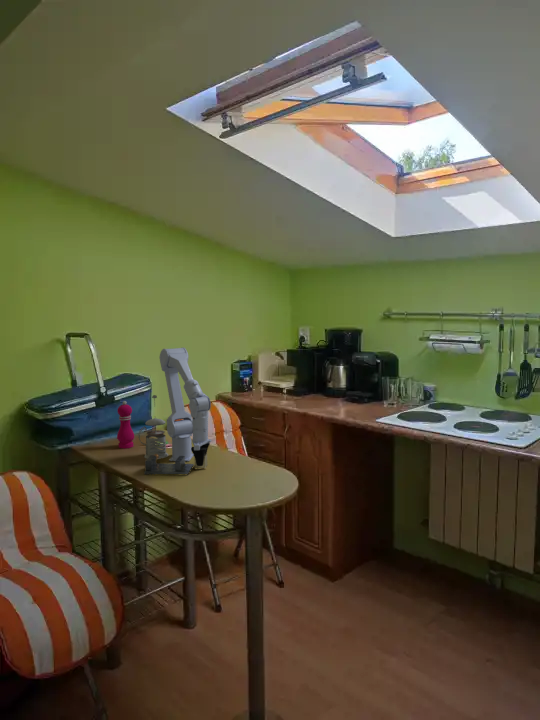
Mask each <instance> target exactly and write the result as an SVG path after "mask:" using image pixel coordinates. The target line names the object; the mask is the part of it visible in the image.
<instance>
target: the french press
mask: <svg viewBox="0 0 540 720" xmlns="http://www.w3.org/2000/svg"><path fill="white" fill-rule="evenodd" d="M151 398H152V399H153V400H154V403H153V404H154V406H156V399H158V397H157V394H153V395H152V397H151ZM145 425H146V426H152V427H154V429H153V430H149V431H147V427H146V426H143V427H141V429H139V432H138V433H137V434H138V439H139V442H140V444H141V445H144V446H145V455H144V456H143V457H144V459H146V460H147V459H148V458H149V457H150V456H151V455H155V454H158V455H159V458H158V459H157V460H160V459H161V458H162V459H165V458H167V457H169V454H168V452H167V448H166V445H167V443H166V435H165V431H164V430H161V429H160V430H159V429H158V430H157V428H156V427H157V426H158V427H159V426H162V425H166V421H165V420H163V419H162V418H161V419H160V418H156V417H154V418H151V419H148V420H146V422H145ZM144 429H145V431H146V437H145V443H144V442H142V441H141V439H140V438H141V433H142V431H143V430H144ZM162 459H161V460H162Z"/></svg>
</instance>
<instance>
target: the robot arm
mask: <svg viewBox="0 0 540 720" xmlns="http://www.w3.org/2000/svg"><path fill="white" fill-rule="evenodd" d="M159 364H160V368H161V371H162V372H164V376H165V381H166V387H167V392H168V398H169V403H170V409H171V414H170V415H169V416H168V417H167V419H166V432H167V435H168V436H169V437H170V438H171V450H172V452H171V453H172V454H171V455H172V456H171V458H169V461H170V462H175V461H176V460H177V458H178V457H179V456H185V462H190V461H191V459H192V458H193V457H194V461H195V460H196V464H197V466H203V462H204V455H205V453H207V454H208V449H209V447H210V444H211V442H212V439H209V418H208V417H209V415H208V414H209V413H208V411H210V410H211V407H212V405H211V404H212V403H211V400H210V397H209V396H208V395H206V393H204V392H203V390H202V388H201V386H200V383H199V381H198V380H196V379H194V377H193V375H192V371H191V368H190V366H189V353H188V350H187V349H186V347H175V348H162V349H161V351H160V353H159ZM179 375H180V377H181V379H182V380H183V382H184V384H183V389H184V391H185V394H186V396H187V398H188V400H189V401H188V402H189V404H188V407H189V410H190V411H189V412H190V413H189V412H187V411H186V409H185V408H186V407H185V405H184V403H185V402H184V398H183V394H182V393H183V392H182V389H181V388H182V387H181V382H180V379H179V378H180V377H179ZM192 444H193V446H192Z"/></svg>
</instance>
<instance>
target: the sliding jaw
mask: <svg viewBox="0 0 540 720" xmlns="http://www.w3.org/2000/svg"><path fill="white" fill-rule="evenodd" d="M158 458H159V455H158V454H155V455H151V456H150V457H149V458H148V459H147V458H146V459H145V460H144V461H145V462H144V465H145V466H144V467H145V468H144V469H145V470H152V468H153V467H154V466H155V465H156V463H157V460H159V459H158Z"/></svg>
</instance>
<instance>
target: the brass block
mask: <svg viewBox="0 0 540 720" xmlns="http://www.w3.org/2000/svg"><path fill="white" fill-rule="evenodd" d="M206 466H207V467H208V452H207V453H205V455H204V462H203V466H197V464H196V460H195V459H194V469H195V468H206V469H207V467H206Z"/></svg>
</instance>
